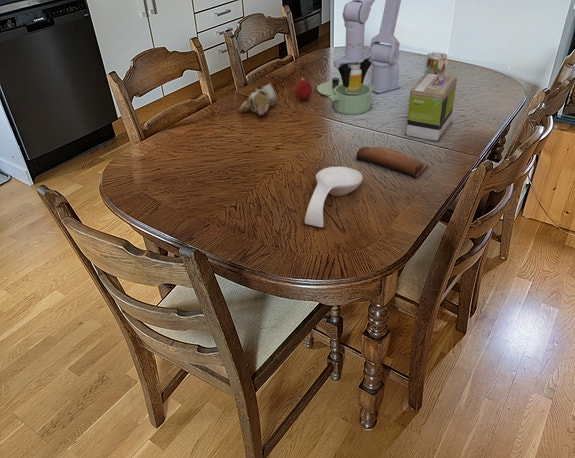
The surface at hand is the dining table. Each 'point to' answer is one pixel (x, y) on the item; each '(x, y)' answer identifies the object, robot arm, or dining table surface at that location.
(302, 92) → the onion
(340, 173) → the spoon rest
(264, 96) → the ceramic sculpture
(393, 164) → the sunglasses case
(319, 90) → the lid
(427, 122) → the tea box
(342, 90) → the pot
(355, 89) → the supplement bottle
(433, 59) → the beer glass
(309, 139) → the dining table surface
